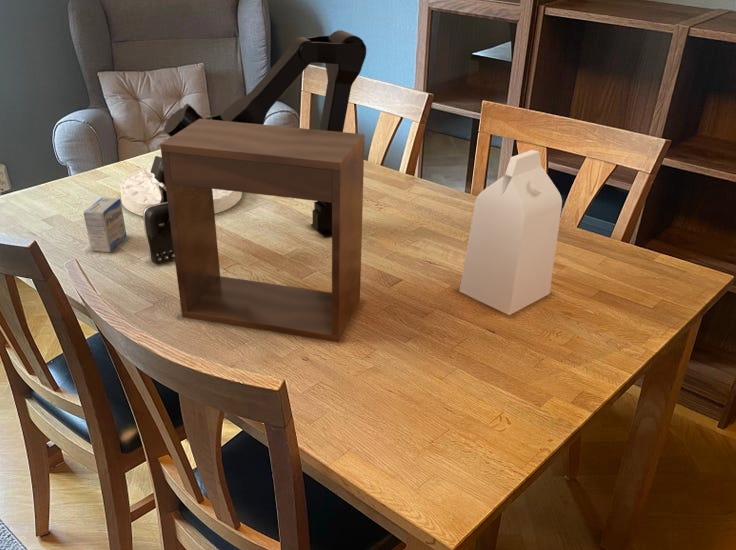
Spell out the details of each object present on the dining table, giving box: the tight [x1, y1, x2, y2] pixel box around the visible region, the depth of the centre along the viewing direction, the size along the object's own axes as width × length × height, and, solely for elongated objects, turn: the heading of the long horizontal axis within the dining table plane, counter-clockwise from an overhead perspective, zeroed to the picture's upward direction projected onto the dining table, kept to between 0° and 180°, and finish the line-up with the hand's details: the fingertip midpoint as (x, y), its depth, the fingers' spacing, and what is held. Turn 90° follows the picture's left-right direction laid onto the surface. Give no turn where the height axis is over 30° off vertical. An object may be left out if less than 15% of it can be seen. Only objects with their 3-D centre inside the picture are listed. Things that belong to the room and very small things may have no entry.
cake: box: [119, 166, 243, 217], centre depth 172 cm, size 28×28×10 cm
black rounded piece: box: [142, 202, 175, 265], centre depth 144 cm, size 7×4×11 cm, turn 126°
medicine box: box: [83, 197, 128, 253], centre depth 150 cm, size 8×4×9 cm, turn 168°
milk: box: [458, 149, 563, 316], centre depth 129 cm, size 12×12×26 cm
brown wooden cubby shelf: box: [159, 119, 365, 343], centre depth 122 cm, size 14×28×30 cm, turn 74°
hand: (157, 231), depth 143 cm, fingers closed on black rounded piece, 4 cm apart
